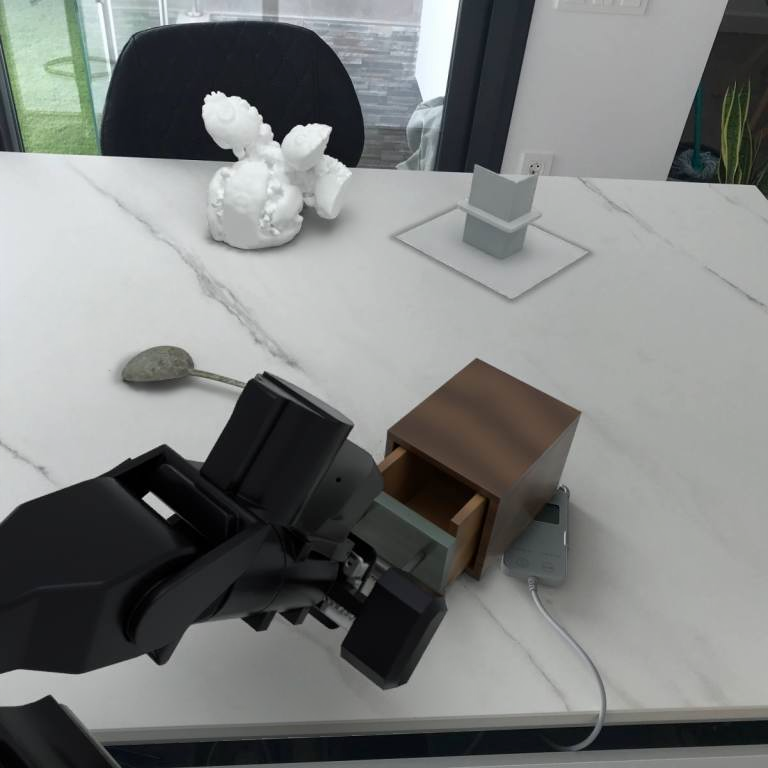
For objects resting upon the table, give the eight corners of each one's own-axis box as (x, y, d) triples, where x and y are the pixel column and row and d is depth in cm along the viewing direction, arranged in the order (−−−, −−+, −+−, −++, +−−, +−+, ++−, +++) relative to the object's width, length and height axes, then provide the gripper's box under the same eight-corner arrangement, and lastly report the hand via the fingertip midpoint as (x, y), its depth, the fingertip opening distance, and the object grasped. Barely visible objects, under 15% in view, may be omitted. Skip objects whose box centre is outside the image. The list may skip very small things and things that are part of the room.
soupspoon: (146, 352, 87) (112, 388, 83) (140, 328, 85) (105, 364, 80) (327, 398, 82) (302, 440, 78) (326, 374, 80) (300, 416, 75)
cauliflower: (156, 189, 97) (219, 65, 102) (201, 264, 115) (252, 156, 121) (295, 229, 94) (352, 99, 99) (318, 300, 112) (365, 187, 118)
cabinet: (479, 582, 66) (500, 498, 59) (377, 514, 71) (387, 429, 64) (555, 493, 75) (582, 411, 68) (460, 438, 79) (476, 357, 73)
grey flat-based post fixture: (476, 199, 122) (488, 127, 114) (588, 252, 112) (610, 177, 104) (395, 237, 111) (402, 160, 103) (511, 299, 100) (529, 219, 93)
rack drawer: (403, 651, 59) (415, 582, 54) (308, 580, 64) (310, 509, 58) (514, 527, 70) (533, 458, 64) (425, 472, 74) (436, 403, 68)
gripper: (448, 525, 39) (521, 532, 53) (197, 364, 47) (318, 407, 61) (341, 718, 39) (442, 673, 53) (110, 524, 47) (250, 530, 61)
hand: (359, 560), depth 57 cm, fingers closed, pressing on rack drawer
